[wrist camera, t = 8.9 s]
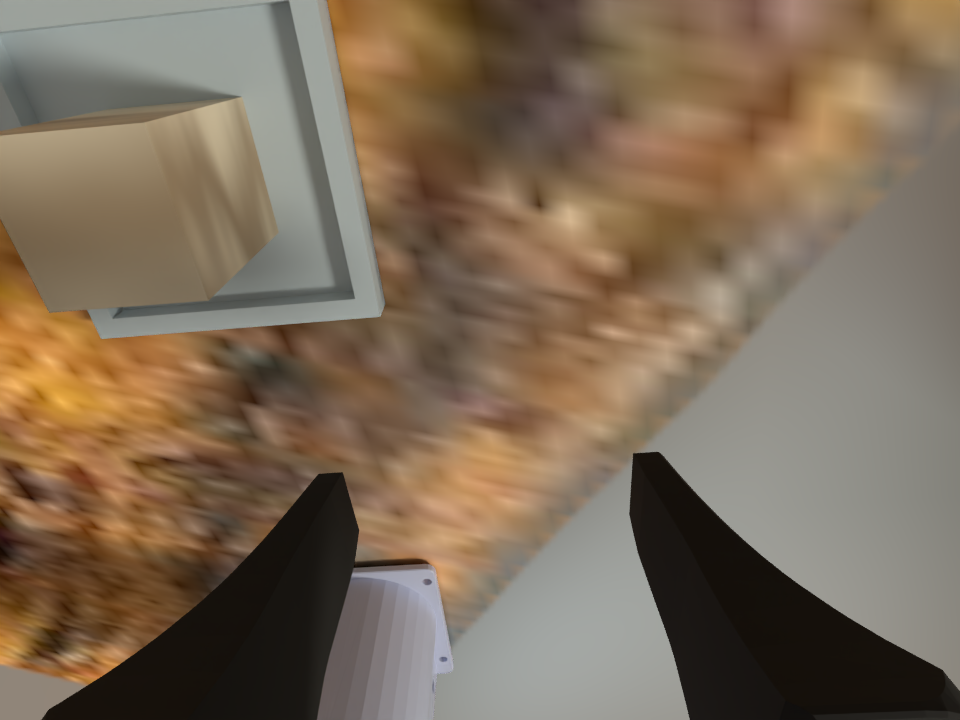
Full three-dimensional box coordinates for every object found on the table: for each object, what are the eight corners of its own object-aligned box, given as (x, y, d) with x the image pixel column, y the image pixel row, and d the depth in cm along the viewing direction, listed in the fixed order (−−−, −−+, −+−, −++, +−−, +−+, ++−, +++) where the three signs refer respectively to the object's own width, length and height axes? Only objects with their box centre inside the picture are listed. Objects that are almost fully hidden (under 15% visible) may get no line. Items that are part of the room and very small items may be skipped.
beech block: (278, 232, 20) (208, 300, 15) (159, 242, 21) (49, 312, 15) (242, 97, 18) (144, 122, 13) (108, 109, 18) (-42, 139, 13)
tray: (385, 303, 22) (380, 316, 21) (118, 324, 23) (101, 338, 22) (320, -33, 17) (309, -37, 16) (-31, 6, 17) (-63, 5, 16)
